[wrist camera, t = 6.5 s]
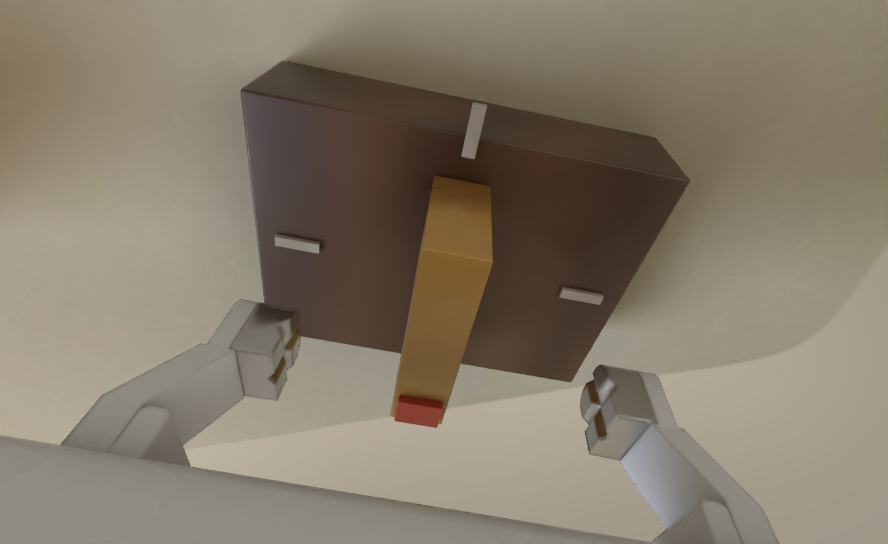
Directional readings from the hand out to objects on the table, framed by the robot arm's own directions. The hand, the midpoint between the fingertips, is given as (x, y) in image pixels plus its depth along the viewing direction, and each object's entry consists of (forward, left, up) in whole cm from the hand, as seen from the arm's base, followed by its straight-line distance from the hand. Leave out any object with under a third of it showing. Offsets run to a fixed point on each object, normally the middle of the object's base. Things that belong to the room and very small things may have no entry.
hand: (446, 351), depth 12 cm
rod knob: (0, 0, -3) cm, 3 cm away
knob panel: (0, 0, -6) cm, 6 cm away
